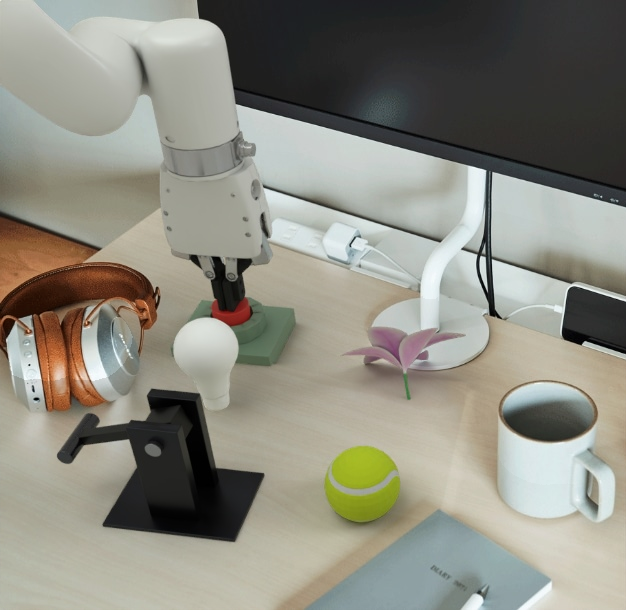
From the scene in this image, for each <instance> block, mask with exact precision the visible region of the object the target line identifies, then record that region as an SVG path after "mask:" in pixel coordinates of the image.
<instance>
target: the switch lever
mask: <svg viewBox="0 0 626 610" xmlns="http://www.w3.org/2000/svg"><path fill="white" fill-rule="evenodd" d="M144 421H148V422H157V423H167V424H176V425H182V429H183V433H184V437H185V439H186V437H187V435H188V433H189V432H190V430H191V428H192V426H193V425H192V423H191V421H190V420H189V418H188V416H187V415H186V413H185V411H184V410H183V408H182V406H181V405H177V406H170V407H163V408H156V409H152V411H150V412H149V414H148V415H147V416H146V418H145V420H144ZM100 422H101V419H100V417H99V416H98V415H97V414H94V413H92V412H87V413H85V414H84V416H83V417H82V418H81V420H79V423H78V424H77V425H76V426H75V428H74V430H73V431H72V432H71V433H70V435H69V437H68V438H67V439H66V440H65V442H64V443H63V445H62V446H61V448H60V449H58V451H57V453H56V458H57V460H58V461H59V462H60V463H62V464H65V465H71V464H73V463H74V461H75V460H76V458H77V456H78V455H79V454H80V452H81V451H82V449H83V448H84V447H85V446H91V445H97V444H106V443H113V442H119V441H126V440H127V441H128V440H129V437H128V434H127V430H126V427H127V425H128V424H129V422H124V423H118V424H111V425H103V426H99V424H100Z"/></svg>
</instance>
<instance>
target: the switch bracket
mask: <svg viewBox="0 0 626 610" xmlns="http://www.w3.org/2000/svg"><path fill="white" fill-rule="evenodd" d="M146 399H147V403H148V406H149V411H150V412H151V411H152V409H156V408H163V407H170V406H177V405H181V406H182V408H183V410H184V411H185V413H186V415H187V416H188V418H189V420H190V421H191V423H192V425H193V426H192V428H191V430H190V432H189V433H188V435H187V437H186V439H185V437H184V433H183V429H182V425H176V424H167V423H157V422H148V421H145V420H136V419H130V420H129V422H128V423H129V424H128V425H127V427H126V430H127V434H128V437H129V444H130V448H131V452H132V455H133V458H134V462H135V465H136V468H135V469H134V471H133V472H132V473H131V476H130V478H129V479H128V481H127V482H126V484H125V485H124V487H123V489H122V491H121V492H120V494H119V496H118V497H117V499H116V501H115V502H114V503H113V506H112V507H111V508H110V511H109V512H108V514H107V515H106V518H105V519H104V520H103V522H102V524H101V525H102V527H103V528H111V529H119V530H128V531H135V532H145V533H154V534H161V535H171V536H179V537H187V538H197V539H204V540H211V541H212V540H213V541H221V542H229V543H236V541H237V538H238V536H239V533H240V531H241V529H242V527H243V524H244V523H245V520H246V518H247V515H248V514H249V511H250V509H251V507H252V504H253V503H254V500H255V498H256V495H257V494H258V491H259V488H260V487H261V485H262V482H263V480H264V477H265V473H264V472H259V471H258V472H257V471H251V470H249V471H248V470H242V469H241V470H240V469H230V468H221V467H217V466H216V461H215V456H214V451H213V447H212V441H211V437H210V432H209V428H208V423H207V419H206V418H207V417H206V413H205V409H204V404H203V399H202V396H201V395H200V393H199V392H190V391H181V390H171V389H162V388H150V389H149V391H148V393H147V394H146Z"/></svg>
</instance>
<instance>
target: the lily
mask: <svg viewBox="0 0 626 610" xmlns="http://www.w3.org/2000/svg"><path fill="white" fill-rule="evenodd" d="M438 329H439V328H438V327H430V328H425V329H422V330H418V331H416V332H413V333H410V334H408V333H407V332H405V331H404V330H402V329H399V328H395V327H390V326H379V325H378V326H369V327H367V328H366V334H367V338H368V341H369V343H370V344H371V346H364V347H360V348H355V349H353V350H352V349H351V350H349V351H346V352H344V353H341V355H340V356H341V357H345V356H348V357H349V356H364V357H363V360H362V362H363V364H364V365H367V364H371V363H373V362H376V361H380V360H385V361H388V362H390V363H392V364H394V365H395V366H397V367H398V368H400V369H401V370H402V374H403V380H404V388H405V393H406V399H407V401H410V400H411V394H410V389H409V383H408V374H407V372H408V369H409V367H410V366H411V365H412V364H413V363H414V362H415V361H416V360H418V361H422V360H427V361H428V360H429V359H430V358H429V351H428V350H427V349H426V348H429V347H430V346H433V345H436V344H438V343H441V342H446V341H450V340H455V339H459V338H463V337H467V334H465V333H459V332H447V331H446V332H443V331H442V332H437V331H438Z"/></svg>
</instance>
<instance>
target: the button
mask: <svg viewBox="0 0 626 610" xmlns="http://www.w3.org/2000/svg"><path fill="white" fill-rule="evenodd" d="M246 297H247V296H245V297H244V299H243V301H240V303H239V304H238V306H237V308H236V309H235V311H234V312H231V311H228V310H225V311H220V310H219V308H218V303H217V299H214V300H213V301H214V302H213V303H212V305H211V309H212V314H213V318H214V319H218V320H220V321H222V322H224V323H225V324H227V325H228V326H229V327H232V326H236V325H241V324H243V323H245V322H246V321H248V320H249V318H250V316H251V313H250V307H249V301H248V299H247V298H246Z"/></svg>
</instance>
